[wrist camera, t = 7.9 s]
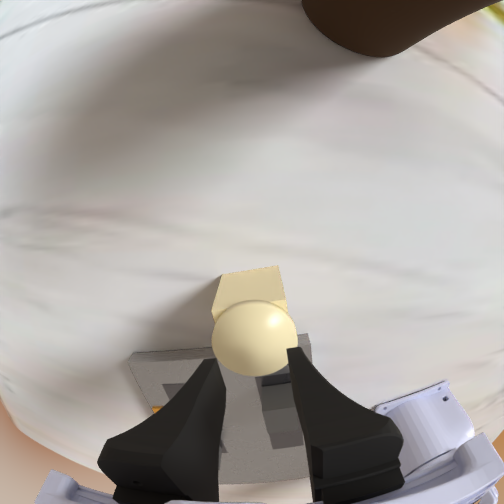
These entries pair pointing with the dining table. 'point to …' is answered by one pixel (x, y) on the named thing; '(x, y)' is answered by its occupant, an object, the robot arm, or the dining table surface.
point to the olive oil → (385, 21)
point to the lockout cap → (252, 322)
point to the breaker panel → (231, 414)
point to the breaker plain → (279, 408)
